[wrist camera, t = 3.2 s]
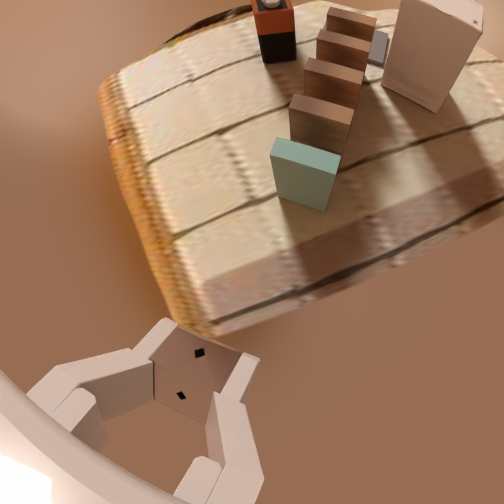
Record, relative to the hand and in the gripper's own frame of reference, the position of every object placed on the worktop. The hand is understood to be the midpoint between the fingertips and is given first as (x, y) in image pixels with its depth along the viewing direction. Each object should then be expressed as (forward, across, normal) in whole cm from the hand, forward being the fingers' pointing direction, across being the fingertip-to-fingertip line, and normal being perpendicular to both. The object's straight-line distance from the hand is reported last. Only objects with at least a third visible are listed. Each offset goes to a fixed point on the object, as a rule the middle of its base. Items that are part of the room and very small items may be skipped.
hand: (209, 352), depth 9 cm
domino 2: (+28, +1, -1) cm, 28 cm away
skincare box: (+37, -8, -14) cm, 40 cm away
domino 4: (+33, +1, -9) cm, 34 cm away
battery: (+37, +11, -14) cm, 41 cm away
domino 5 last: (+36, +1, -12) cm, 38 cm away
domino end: (+25, +1, +2) cm, 25 cm away
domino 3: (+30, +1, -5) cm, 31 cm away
